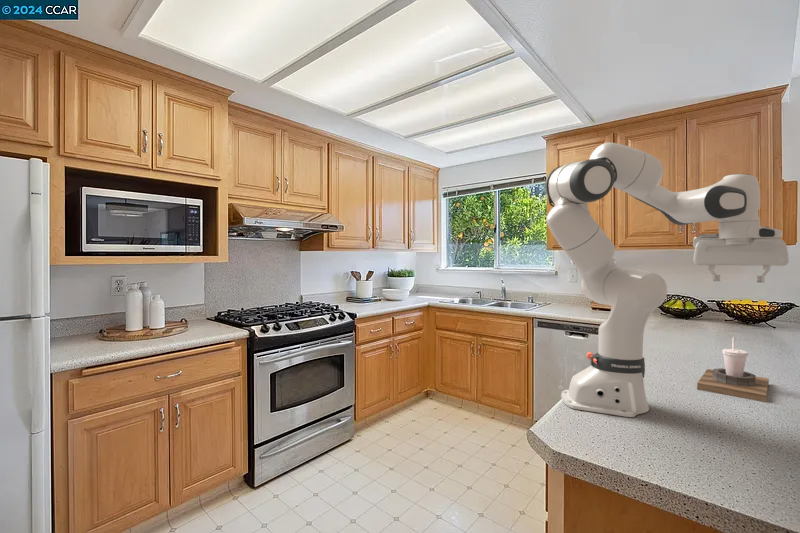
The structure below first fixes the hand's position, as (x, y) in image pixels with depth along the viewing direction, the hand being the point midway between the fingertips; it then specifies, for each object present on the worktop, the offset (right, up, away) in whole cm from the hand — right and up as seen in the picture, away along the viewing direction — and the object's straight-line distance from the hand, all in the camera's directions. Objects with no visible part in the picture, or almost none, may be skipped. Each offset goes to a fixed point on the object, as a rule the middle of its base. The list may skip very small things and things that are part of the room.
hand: (738, 281), depth 110 cm
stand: (+12, -35, +16) cm, 40 cm away
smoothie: (+13, -33, +16) cm, 39 cm away
